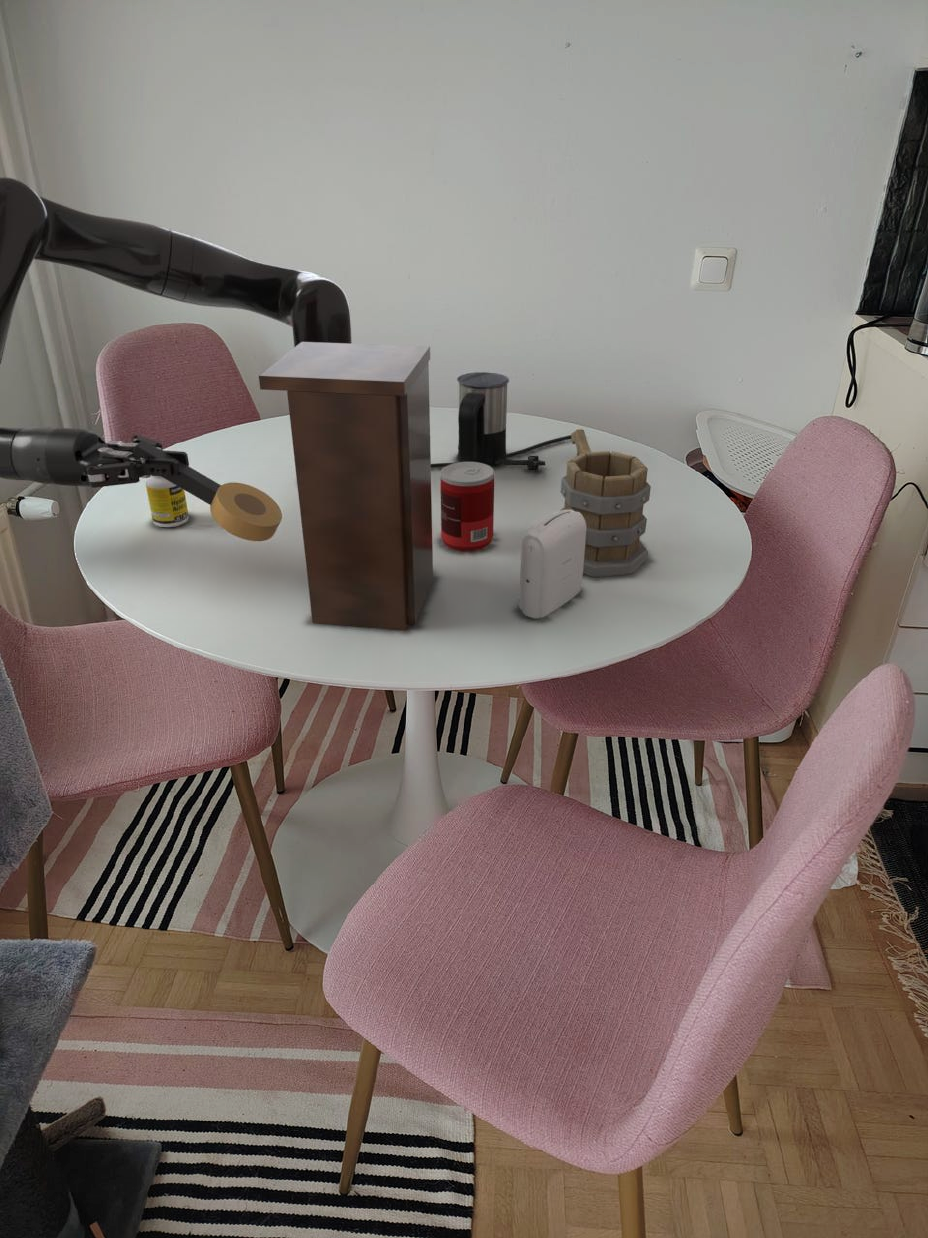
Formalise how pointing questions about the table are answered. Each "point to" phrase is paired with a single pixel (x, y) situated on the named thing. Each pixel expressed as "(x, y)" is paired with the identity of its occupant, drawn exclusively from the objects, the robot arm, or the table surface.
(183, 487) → the disc with black handle
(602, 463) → the tankard
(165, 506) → the supplement bottle
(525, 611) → the photo printer
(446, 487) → the canned food
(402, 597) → the wooden cabinet
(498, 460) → the milk frother
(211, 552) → the table surface
